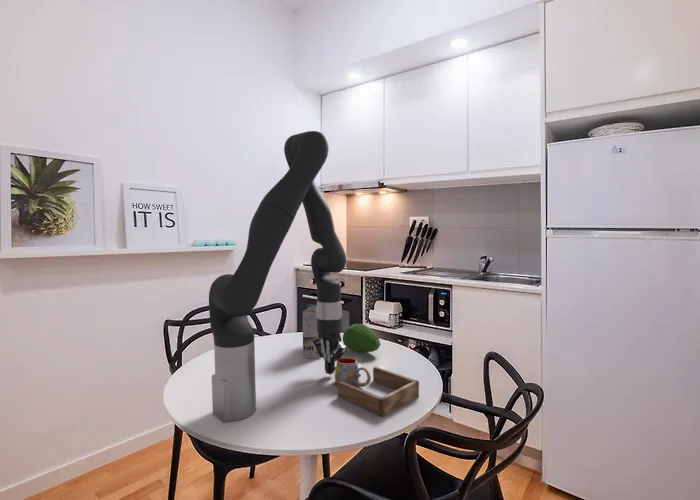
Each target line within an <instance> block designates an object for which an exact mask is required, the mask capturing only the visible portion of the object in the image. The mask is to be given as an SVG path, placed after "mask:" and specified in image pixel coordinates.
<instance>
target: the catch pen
mask: <svg viewBox="0 0 700 500" xmlns="http://www.w3.org/2000/svg"><path fill="white" fill-rule="evenodd" d="M372 370H373V371H372V376H373V377H372V380H373V381H372V382H375V383H378V384H380V385H383V386H384V387H385V386H386V387H389V388H391V389H393V390H394V391H391V392H389V393H387V394H386V395H384V396H382V397H381V396H379V395H377V394H374V393H372V392H369V391H367V390H364V389H361V388H360V387H356V386H352V385H350V384H347V383H345V382H342V381H339V382H338V384H337V397H338V398H340V399H342V400H344V401H347V402H348V403H350V404H353V405H356V406H357V407H359V408H361V409H364V410H366V411H368V412H371V413H373V414H375V415H377V416H379V417H384V416H387V415H388V414H389V413H392V412H393V411H395V410H397V409H398V408H400V407H402V406H404V405H406V404H408V403H409V402H412V401H413V400H414V399H416V398H418V397H419V396H420V381H419V380H416V379H414V378H410V377H407V376H405V375H401V374H398V373H395V372H393V371H390V370H387V369H385V368H380V367H378V366H373V367H372Z"/></svg>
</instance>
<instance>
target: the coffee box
mask: <svg viewBox="0 0 700 500" xmlns="http://www.w3.org/2000/svg"><path fill="white" fill-rule="evenodd" d="M318 334H319V333H318V332H317V318H316V306H308V307H307V308H306V309H304V310H302V358H305V359H306V358H307V359H317V360H319V359H322V357H320V356H319V354H318V351H317V349H316V347H315V345H314V343H313V339H316V338H318ZM321 351H322V349H321Z"/></svg>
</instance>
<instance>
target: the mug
mask: <svg viewBox="0 0 700 500" xmlns="http://www.w3.org/2000/svg"><path fill="white" fill-rule="evenodd" d="M360 371H364V372H365V374H366V377H367V379H366V381H365V382H361V381H360V378H361V377H362V374H361V373H360ZM371 380H372V379H371V374H370V372H369V370H368V369H367V368H365V367H362V366H361V367H359V364H358V360H357V359H356V358H354V357H353V358H352V357H341V358H339V359H337V361H336V365H335V371H334V381H333V384H334V385H338V382H339V381H342V382H345V383H347V384H350V385H352V386H355V387H357V388H362V387H363V388H364V387H365V388H366V387H367V386H368V385H369V384H370V383H371Z"/></svg>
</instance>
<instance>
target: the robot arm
mask: <svg viewBox="0 0 700 500" xmlns="http://www.w3.org/2000/svg"><path fill="white" fill-rule="evenodd" d="M329 147H330V146H329V141H328V138H327V137H326V135H325V134H324V133H322V132H320V131H317V130H309V131H308V130H307V131H304V132H300V133H297V134H293V135H290V136H289V137H288V138H287V139H286V141H285V142H284V147H283V148H284V149H283V152H284V157H285V160H286V163H287V166H288V168H289V169H288V170H287V171H286V173H285V174H284V176H282V178H281V179H279V181H278V182H277V183H276V184H274V185H273V187H271V188H270V190H269V191H268V192H267V193H266V194H265V196H263V198H262V199H261V201H260V203H259V205H258V206H257V209H256V210H255V213H254V214H253V217H252V218H251V221H250V225H249V230H248V235H247V236H248V237H247V244H246V245H247V246H246V249H245V252H244V255H243V257H242V259H241V260H240V262H239V265H238V267H237V269H236V270H235V271H234V273H233V274H232V273H229V274H228V273H226V274H222V275H220V276H218V277H217V278H215V279H214V280H213V282H212V283H211V285H210V288H209V293H208V311H209V323H210V324H209V325H210V330H211V335H212V336H213V344H214V348H213V349H214V353H213V354H214V374H212V375H211V397H212V399H211V401H212V414H213V415H214V416H215V417H216V418H218V419H219V420H220V421H222V422H223V423H228V422H232V421H239V420H243V419H246V418H248V417H251V416H252V415H253V414H255V412H256V410H257V396H256V395H257V392H256V390H257V389H256V388H257V387H256V360H255V359H256V355H255V350H256V349H255V330H254V328H253V326H252V325H251V323H250V321H249V318H248V314H249V313H251V311H253V309H254V308H255V307H256V306H257V304H258V302H259V299H260V297H261V294H262V291H263V289H264V287H265V283H266V280H267V278H268V275H269V273H270V271H271V267H272V265H273V263H274V260H275V259H276V258H277V255H278V252H279V251H280V248H281V246H282V244H283V243H284V240H285V238H286V236H287V234H288V233H289V231H290V229H291V227H292V225H293V222H294V220H295V217H296V216H297V213H298V211H299V209H300V207H301V205H303V208H304V212H305V215H306V216H305V217H306V221H307V225H308V229H309V234H310V238H311V240H312V241H313V242H314V243H316V244H319V245H321V247H319V248H316V249H314V251H313V253H312V254H311V258H310V266H311V270H312V275H313V279H314V282H315V285H316V306H317V307H316V306H315V307H316V318H317V332H318V333H319V334H318V338H316V339H313V343H314V345H315V347H316V349H317V351H318V354H319V356H320V357H321V359H323V361H324V370H325V374H328V375H332V374H335V367H336V364H335V362H337V359H339V358H343V356H344V355H345V353H346V352H347V350H348V348H347V346H346V345H344V343H343V341H342V337H341V333H342V331H343V310H342V309H343V308H342V307H343V305H342V288H341V287H342V286H341V282H340V281H339V280H336V279H334V278H333V277H332V274H331V273H333V274H336V273H340V272H342V271H344V269H345V267H346V265H347V256H346V252H345V248H344V247H343V245H342V243H341V240H340V238H339V237H338V235H337V233H336V231H335V225H334V220H333V215H332V212H331V209H330V206H329V205H328V202H327V201H326V199H325V198H324V196H323V194H322V193H321V191H320V189H319V188H318V185H317V184H316V181H315V179H316V177H317V176H318V174H319V172H320V171H321V170H322V168H323V166H324V164H325V163H326V161H327V159H328V158H327V157H328V155H329V150H330V149H329ZM321 349H322V351H321Z"/></svg>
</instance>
